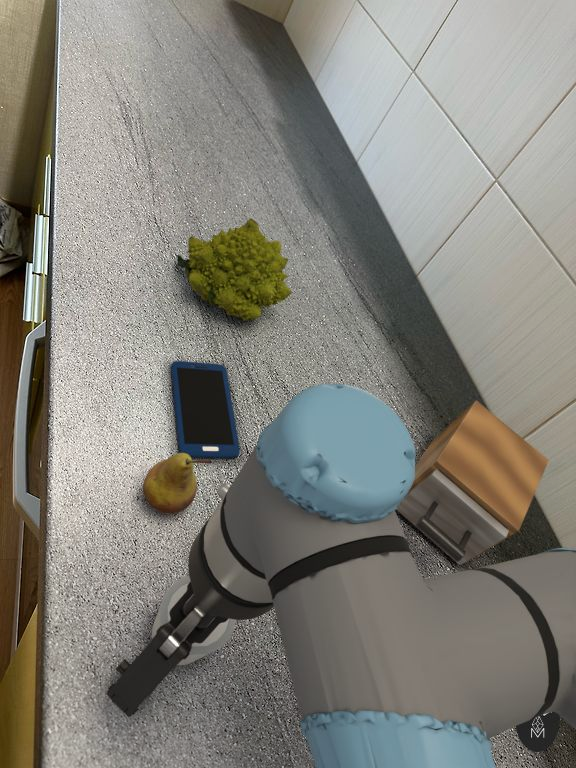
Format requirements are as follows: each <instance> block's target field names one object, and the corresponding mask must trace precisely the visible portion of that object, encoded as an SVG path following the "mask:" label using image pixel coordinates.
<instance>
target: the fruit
mask: <svg viewBox="0 0 576 768" xmlns="http://www.w3.org/2000/svg"><path fill="white" fill-rule="evenodd" d="M198 463H199V464H213V461H212V459H211V458H208V459H193V458H191V457H190V455H188V454H186V453H179V452H178V453H175V454H172V455H171V456H170V457H168V458H165V459H162V460H160V461H159V462H156V463H155V464H154V465H153V466H152V467H151V468H150V469H149V471H148V472H147V474H146V475H145V478H144V479H143V480H144V481H143V483H142V494H143V496H144V500H145V501H146V503H147V504H148V505H149V506H150V508H152V509H153V510H154V511H157V512H158V513H161V514H165V515H173V514H178V513H180V512H182V511H185V510H186V509H187V508H189V506H191V504H192V503H193V502H194V500H195V498H196V495H197V491H198V481H197V477H196V475H195V472H194V464H198Z"/></svg>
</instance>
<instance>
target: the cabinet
mask: <svg viewBox="0 0 576 768" xmlns="http://www.w3.org/2000/svg"><path fill="white" fill-rule="evenodd" d="M549 461H550V460H549V458H547V457H546V456H545V455H543V454H542V453H541V452H540V451H539V450H538V449H536V448H535V447H534V446H532V445H531V444H530V443H529V442H528V441H526V439H524V438H523V437H522V436H520V435H519V434H518V433H517V432H515V431H514V430H513V429H512V428H510V426H508V424H506V423H505V422H504V421H502V420H501V419H500V418H499V417H498V416H496V415H495V414H494V413H492V412H491V411H490V410H489V409H487V407H485V406H484V405H483V404H482V403H480V402H479V401H478V400H475V401H474V402H473V403H472V404H471V405H470V406H469V407H468V408H466V409H465V410H464V411H463V412H462V413H461V414H460V415H459V416H458V417H457V418H455V420H453V421H452V422H451V423H450V424H449V425H448V426H447V427H446V428H445V429H444V430H443V431H441V432H440V433H439V434H438V435H436V437H435V438H434V439H432V441H431V442H430V443H429V445H428V446H427V447H426V449H425V450H424V452H423V453H422V455H421V456H420V457H419V459H418V461H417V462H416V463H415V479H414V482H413V484H412V486H411V488H410V490H412V489H413V488H414V487H415V486H416V485H417V484H419V483H420V482H421V481H422V480H423V479H424V478H426V477H427V476H428V475H429V474H430V473H432V472H433V471H434V470H435V469H438V470H440V471H441V472H442V473H444V474H445V475H446V476H447V477H448V478H449V479H451V480H452V481H453V482H454V483H455V484H456V485H458V486H459V487H460V488H461V489H462V490H463V491H465V492H466V493H467V494H468V495H469V496H470V497H472V498H473V499H474V500H475V501H476V502H477V503H479V504H480V505H481V506H482V507H483V508H484V509H486V510H487V511H488V512H489V513H490V514H491V515H493V516H494V517H495V518H496V519H497V520H498V521H500V523H501V524H502V525H503V526H504V527H505V528H506V529H508V530H509V532H508V534H507V536H506V538H504V539H503V540H501V541H499V542H498V543H496V544H495V545H493V546H491V547H490V548H488V549H486V550H485V551H483V552H481V553H480V554H478V555H476V556H475V557H473V558H471V559H470V560H468V561H466V562H465V563H463V564H462V565H464V564H467V563H469V561H471V560H473V559H475V558H476V557H478V556H480V555H481V554H483V553H485V552H487V551H488V550H490V549H492V548H493V547H494V546H496V545H498V544H500V543H501V542H503V541H504V540H506V539H508V538H509V537H511V536H513V535H514V534H516V533H518V532H520V530H521V527H522V524H523V522H524V520H525V517H526V515H527V513H528V510H529V508H530V506H531V503H532V501H533V499H534V496H535V494H536V492H537V489H538V487H539V484H540V482H541V480H542V478H543V475H544V473H545V472H546V471H545V470H546V468H547V466H548V463H549ZM410 490H409V491H410ZM409 491H408V492H409Z"/></svg>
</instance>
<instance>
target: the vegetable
mask: <svg viewBox="0 0 576 768" xmlns="http://www.w3.org/2000/svg"><path fill="white" fill-rule="evenodd" d="M187 245H188V246H187V247H188V248H187V249H188V250H187V253H188V256H187V259H185V258H183V257H182V256H181V254H176V257H177V259H176V260H177V261H176V262H177V264H176V265H177V266H178V267H180V268H181V269H184V271H185V275H186V277H188V279H187V280H188V283H189V285H190V286H191V290H192V291H195V292H197V293H198V294H199V295H200V298H201V301H205V302H207V303H208V304H209V306H210V307H212V306H214V305H218V308H219V309H221V308H222V309H223V311H226V315H227V316H234V317H236V318H241V319H242V321H243V322H245V321H248V322H250V321H253V320H254V321H255V320H256V319H258V318H259V317H261V316H262V314H261V313H262V311H263V306H264V308H270V307H271V306H272V305H273V306H276V305H277V304H278V302H279V303H282V301H286V299H287V298H288V297H289V296H290V295H291V294H292V293H293V291H292V290H291V289H290V288H289V286H287V284H286V281H284V280H286V279H287V278H288V277H289V275H288V274H286V273H285V272H284V271H283V270H284V269H286V266H287V264H288V261H289V258H286V257H284V256H282V255H281V254H282V253H281V250H282V244H281V242H280V241H279V240H272V241H269V240H268V237H266V235H264V234H263V232H261V231H260V228H259V223H258V222H256V220H254V219H253V218H252V217H250V218H249V219H248V220H247V221H246V222H245V223H244V224H243V225H241V226H240V227H234V229H233V228H229V229H228V231H227V232H225V231H224V230H223V228H221V229H220V231H219V233H218V234H217V235H216V234H212V236H211V239H209V240H208V241H206V240H201V239H199V238H196V237H195V236H193V235H191V236H189V237H188V243H187Z"/></svg>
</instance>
